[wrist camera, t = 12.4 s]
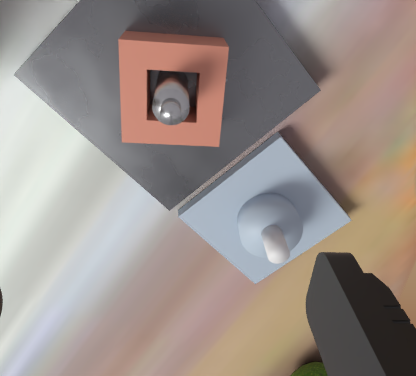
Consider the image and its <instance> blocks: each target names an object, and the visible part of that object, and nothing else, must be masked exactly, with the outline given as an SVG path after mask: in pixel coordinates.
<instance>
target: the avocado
mask: <svg viewBox="0 0 416 376" xmlns="http://www.w3.org/2000/svg"><path fill="white" fill-rule="evenodd" d="M290 376H328V375H327V372H326V369H325V367H324V364H323V363H320V362H311V363H308V364H305V365H302V366H301V367H299V368H298V369H297V370H296V371H294V372H293V373H292V374H291V375H290Z"/></svg>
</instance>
